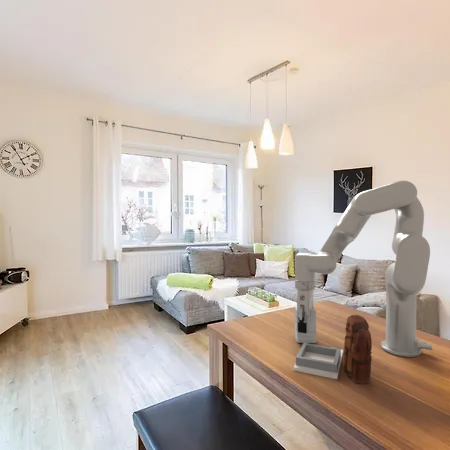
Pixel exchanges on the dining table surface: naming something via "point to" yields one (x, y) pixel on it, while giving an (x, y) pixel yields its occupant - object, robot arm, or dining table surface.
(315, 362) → the caddy
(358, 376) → the wooden figurine
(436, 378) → the dining table surface
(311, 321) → the supplement box
